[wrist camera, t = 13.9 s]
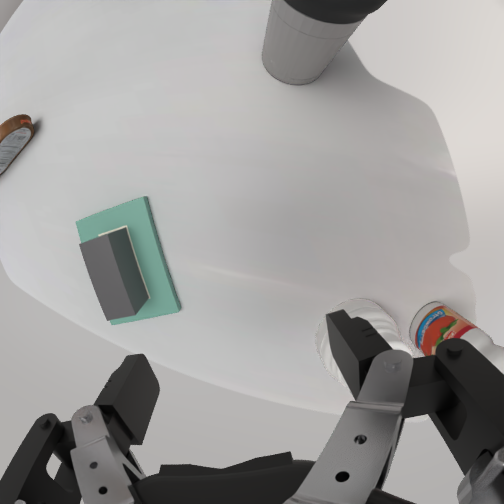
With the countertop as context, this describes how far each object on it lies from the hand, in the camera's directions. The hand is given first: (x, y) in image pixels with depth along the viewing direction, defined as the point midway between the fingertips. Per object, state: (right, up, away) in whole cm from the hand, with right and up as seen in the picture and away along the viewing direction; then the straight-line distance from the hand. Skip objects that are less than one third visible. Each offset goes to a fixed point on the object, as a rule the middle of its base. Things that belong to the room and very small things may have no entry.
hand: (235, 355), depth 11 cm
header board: (-18, +3, +28) cm, 33 cm away
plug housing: (-18, +2, +26) cm, 31 cm away
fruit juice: (+34, -9, +33) cm, 48 cm away
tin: (-41, +22, +22) cm, 52 cm away
